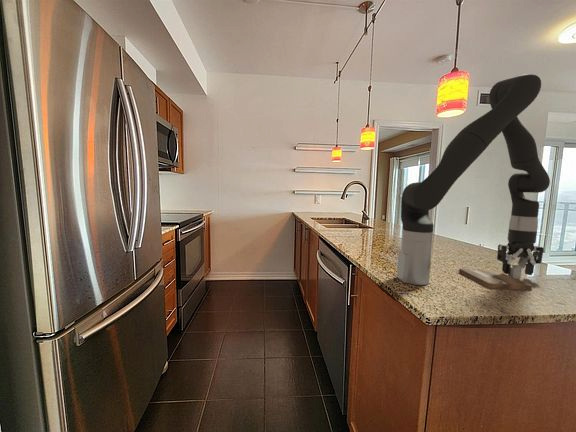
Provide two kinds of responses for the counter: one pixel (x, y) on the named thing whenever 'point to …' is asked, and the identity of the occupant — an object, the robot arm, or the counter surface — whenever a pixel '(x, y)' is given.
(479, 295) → the counter surface
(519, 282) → the brown flat slab
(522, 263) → the lighter
